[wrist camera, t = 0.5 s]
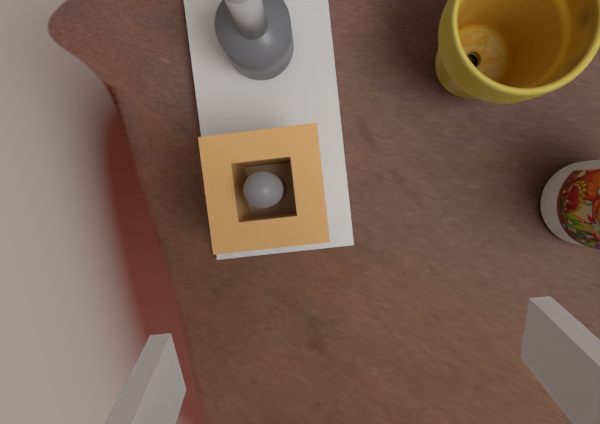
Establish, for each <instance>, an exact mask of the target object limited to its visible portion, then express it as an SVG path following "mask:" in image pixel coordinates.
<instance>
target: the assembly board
mask: <svg viewBox="0 0 600 424" xmlns="http://www.w3.org/2000/svg"><path fill="white" fill-rule="evenodd" d="M184 8H185V16H186V23H187V31H188V39H189V47H190V54H191V62H192V70H193V78H194V85H195V93H196V101H197V109H198V116H199V124H200V132H201V137H203V136H211V135H219V134H227V133H236V132H244V131H252V130H260V129H269V128H277V127H285V126H294V125H302V124H310V123H317V129H318V138H319V147H320V156H321V165H322V174H323V184H324V193H325V202H326V211H327V220H328V229H329V238H330V242H327V243H317V244H308V245H299V246H290V247H280V248H271V249H262V250H253V251H243V252H234V253H225V254H216V256H217V260H220V259H229V258H238V257H247V256H257V255H266V254H275V253H285V252H294V251H303V250H313V249H322V248H331V247H340V246H350V245H354V241H353V232H352V222H351V213H350V203H349V194H348V184H347V175H346V165H345V156H344V147H343V137H342V128H341V118H340V109H339V99H338V90H337V80H336V71H335V61H334V52H333V43H332V33H331V24H330V14H329V5H328V0H184ZM244 168H245V176H246V181H245V184H244V188H243V192H244V196H245V198H246V200H247V201H248V203H249V209H250V217H253V216H261V215H270V214H279V213H288V212H297V211H296V202H295V193H294V185H293V176H292V167H291V162H286V163H278V164H269V165H260V166H252V167H244Z"/></svg>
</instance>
